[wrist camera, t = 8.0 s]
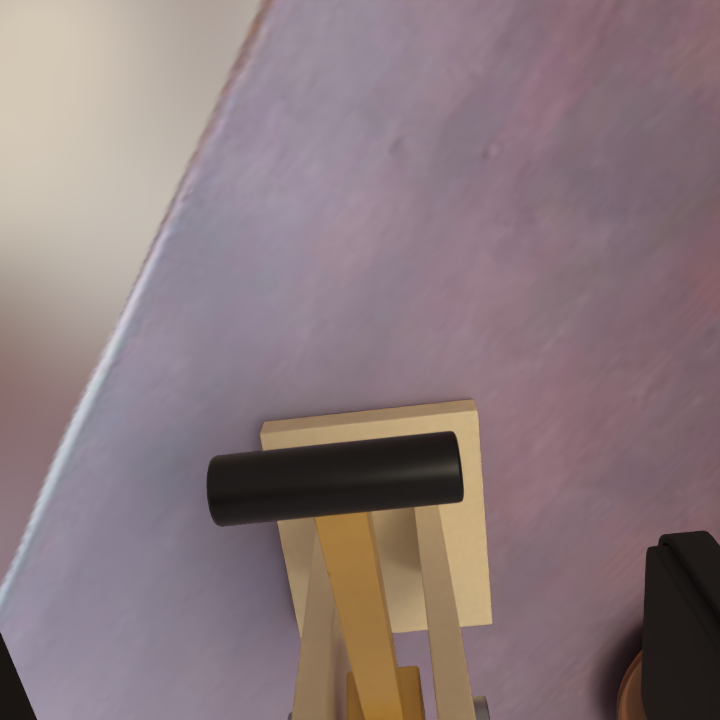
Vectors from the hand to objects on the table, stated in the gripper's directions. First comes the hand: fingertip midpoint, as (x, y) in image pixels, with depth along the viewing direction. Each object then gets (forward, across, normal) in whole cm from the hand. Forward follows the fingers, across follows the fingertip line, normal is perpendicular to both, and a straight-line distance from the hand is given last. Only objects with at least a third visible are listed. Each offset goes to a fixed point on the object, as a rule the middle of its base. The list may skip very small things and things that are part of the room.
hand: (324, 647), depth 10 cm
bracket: (+18, 0, +11) cm, 21 cm away
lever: (+7, 0, +5) cm, 9 cm away
